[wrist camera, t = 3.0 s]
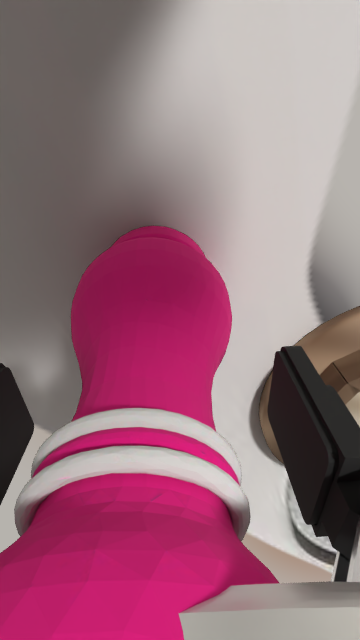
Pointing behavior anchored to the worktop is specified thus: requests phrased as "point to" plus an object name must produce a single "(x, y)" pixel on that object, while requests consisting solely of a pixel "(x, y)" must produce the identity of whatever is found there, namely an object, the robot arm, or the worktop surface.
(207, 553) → the pepper mill
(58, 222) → the worktop surface
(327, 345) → the round tray
